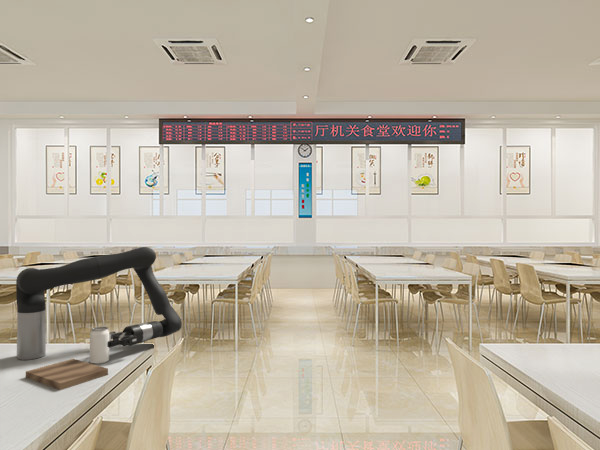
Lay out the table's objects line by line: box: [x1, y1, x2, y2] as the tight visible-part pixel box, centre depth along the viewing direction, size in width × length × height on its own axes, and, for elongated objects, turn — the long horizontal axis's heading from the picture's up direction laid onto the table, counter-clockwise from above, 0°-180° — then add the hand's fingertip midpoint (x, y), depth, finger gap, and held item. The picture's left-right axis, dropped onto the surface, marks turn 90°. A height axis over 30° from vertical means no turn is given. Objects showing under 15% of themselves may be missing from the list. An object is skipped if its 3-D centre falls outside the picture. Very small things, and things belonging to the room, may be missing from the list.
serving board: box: [25, 358, 109, 391], centre depth 143 cm, size 20×16×2 cm
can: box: [89, 326, 110, 365], centre depth 159 cm, size 6×6×12 cm
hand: (100, 343), depth 159 cm, fingers open, 8 cm apart
